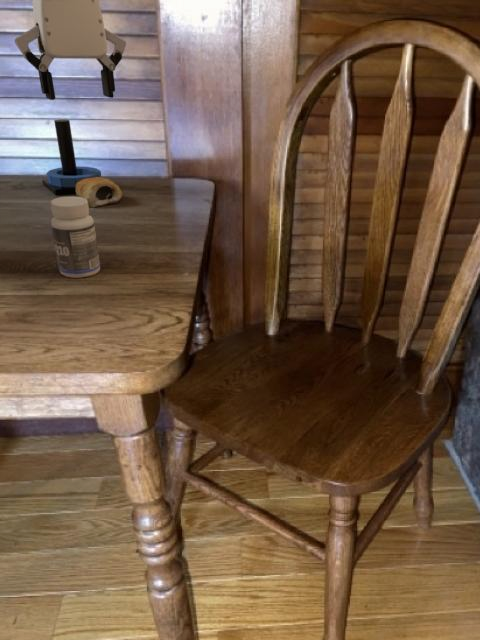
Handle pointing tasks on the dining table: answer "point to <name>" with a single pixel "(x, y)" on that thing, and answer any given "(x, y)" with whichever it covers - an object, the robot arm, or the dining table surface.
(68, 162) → the black upright rod
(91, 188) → the pastry
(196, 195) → the dining table surface
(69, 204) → the pill bottle
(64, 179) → the ring
